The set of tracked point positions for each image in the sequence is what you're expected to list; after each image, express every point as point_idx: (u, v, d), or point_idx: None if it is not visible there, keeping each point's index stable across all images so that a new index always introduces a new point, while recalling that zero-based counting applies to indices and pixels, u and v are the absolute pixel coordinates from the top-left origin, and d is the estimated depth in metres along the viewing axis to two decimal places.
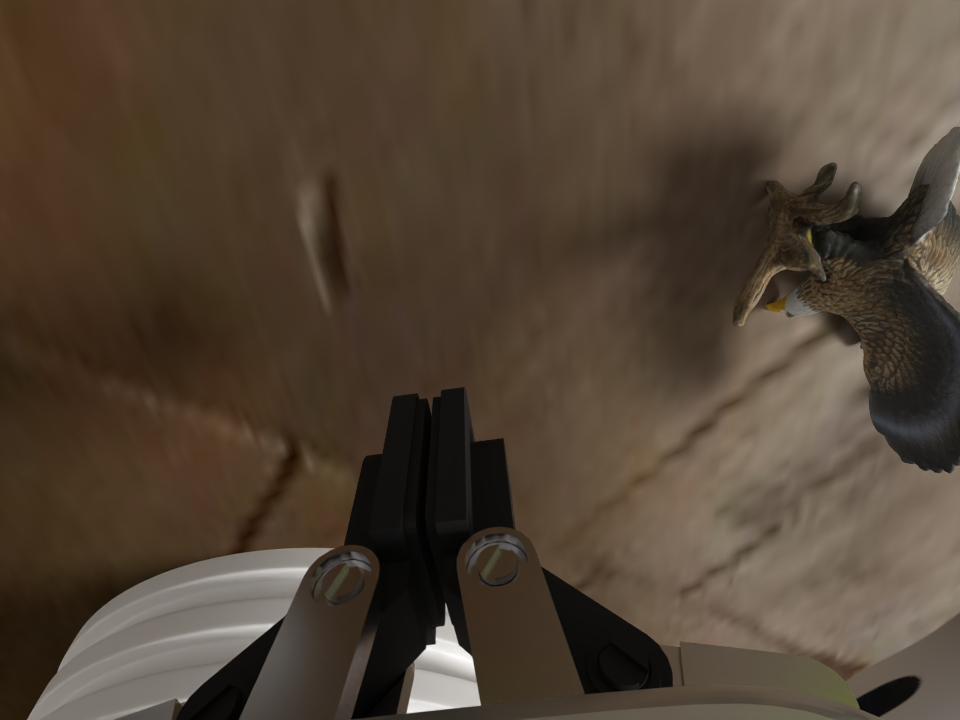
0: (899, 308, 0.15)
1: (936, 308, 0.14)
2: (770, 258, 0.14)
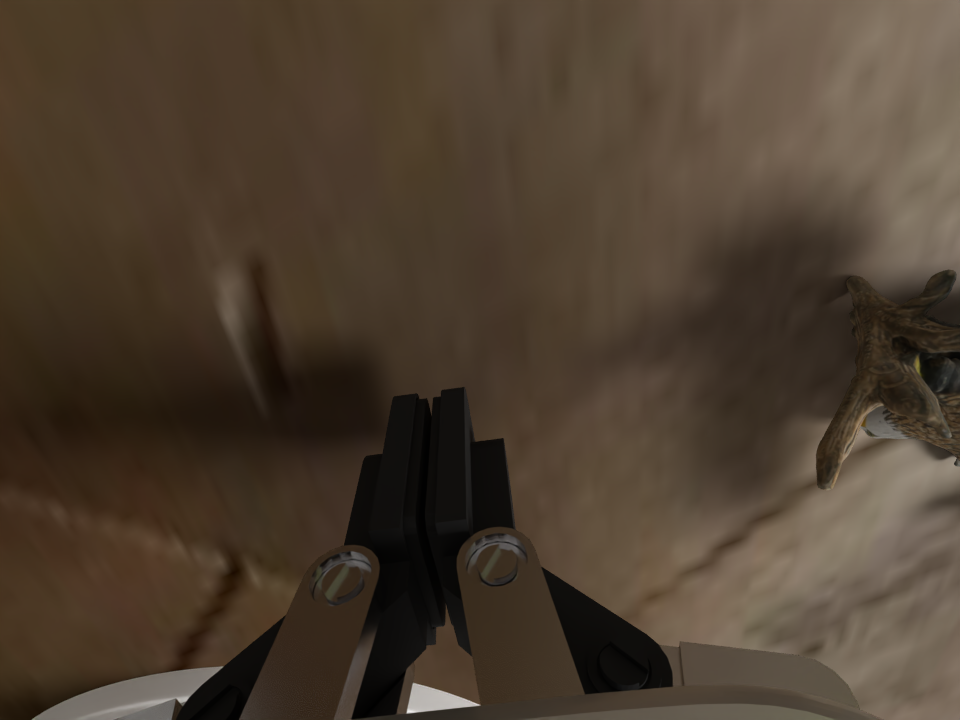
0: None
1: None
2: (865, 394, 0.11)
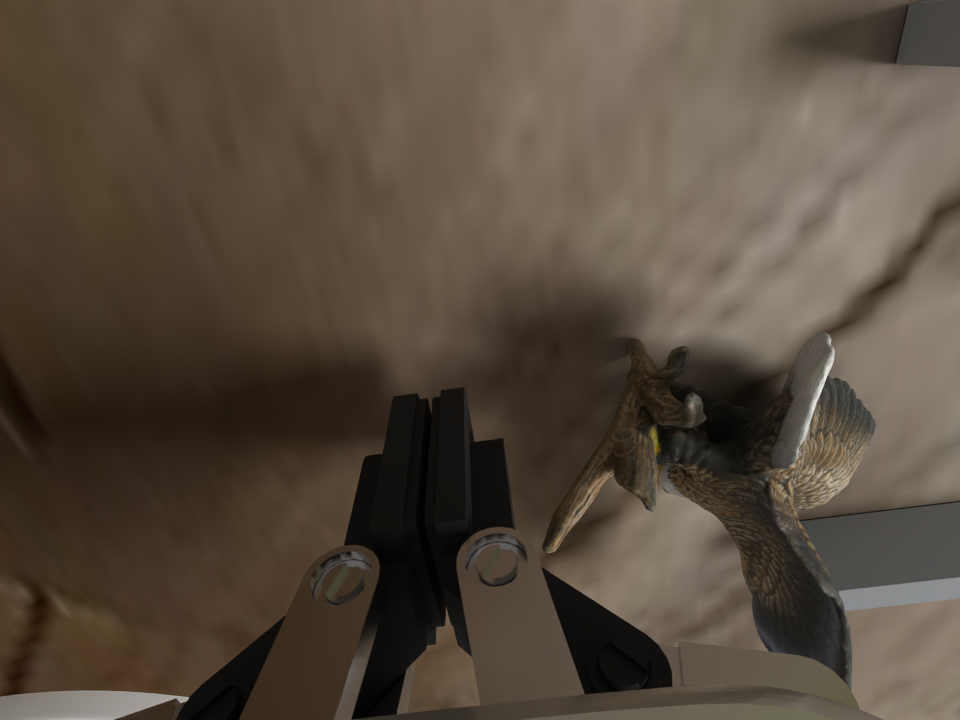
0: (770, 527, 0.12)
1: None
2: (601, 460, 0.11)
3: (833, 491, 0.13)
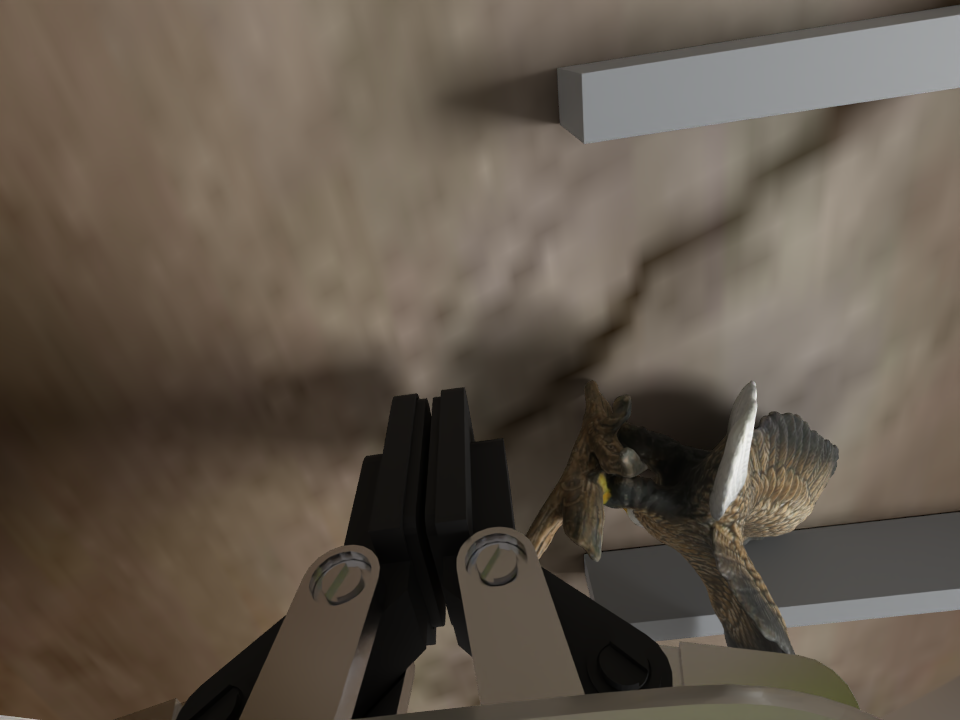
0: None
1: None
2: (552, 509, 0.12)
3: (796, 520, 0.14)
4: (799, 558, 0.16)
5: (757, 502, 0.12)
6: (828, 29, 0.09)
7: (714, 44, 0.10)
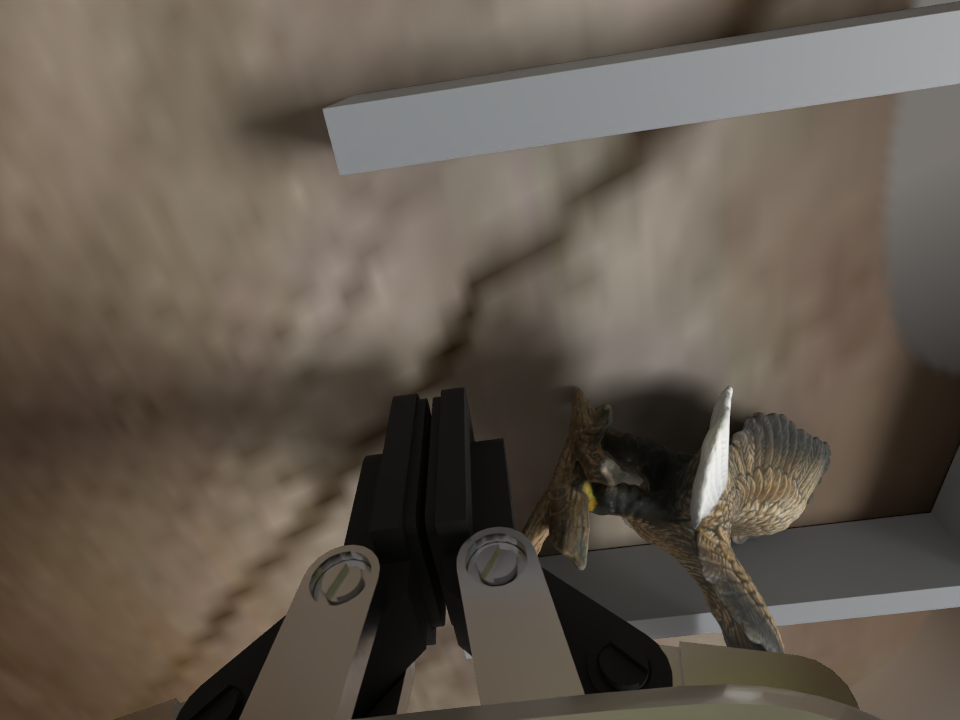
0: None
1: None
2: (539, 518, 0.12)
3: (788, 519, 0.14)
4: (665, 570, 0.16)
5: (744, 503, 0.12)
6: (590, 62, 0.09)
7: (497, 74, 0.10)
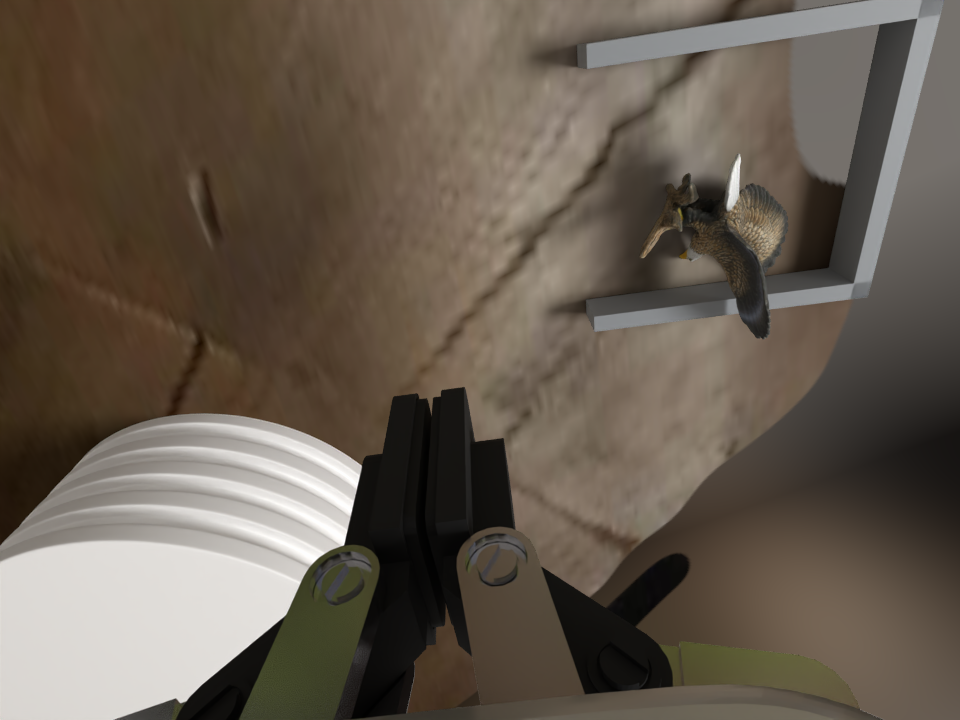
0: (733, 247, 0.28)
1: (741, 243, 0.27)
2: (659, 223, 0.28)
3: (766, 242, 0.30)
4: (693, 292, 0.32)
5: (746, 221, 0.28)
6: None
7: None
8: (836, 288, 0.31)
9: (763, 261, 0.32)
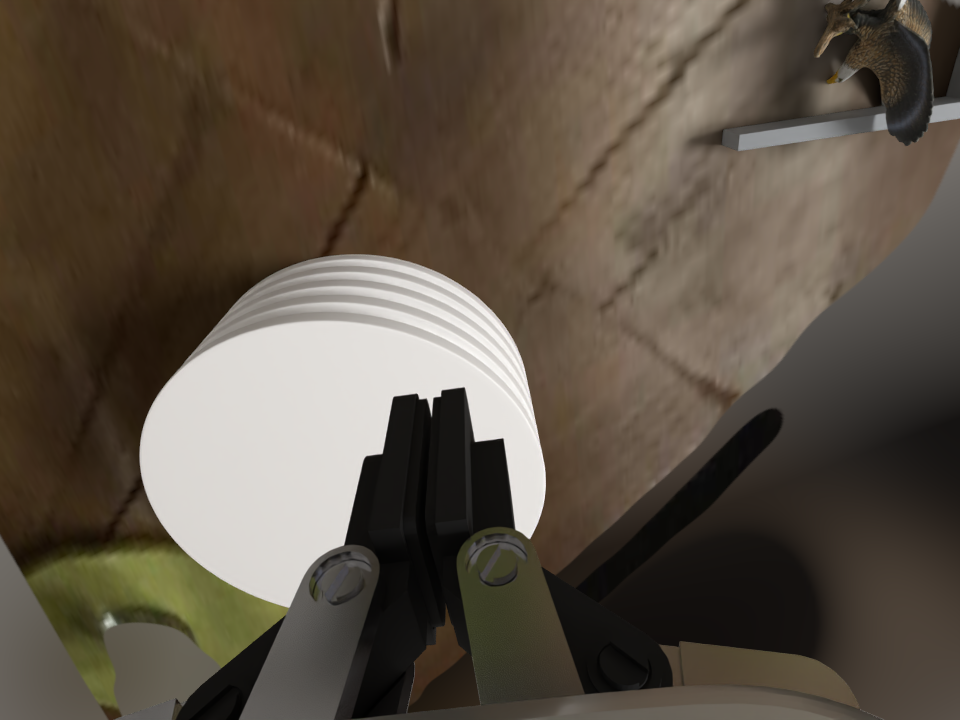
0: (895, 50, 0.31)
1: (910, 38, 0.30)
2: (830, 28, 0.31)
3: None
4: (825, 117, 0.35)
5: None
6: None
7: None
8: None
9: None
